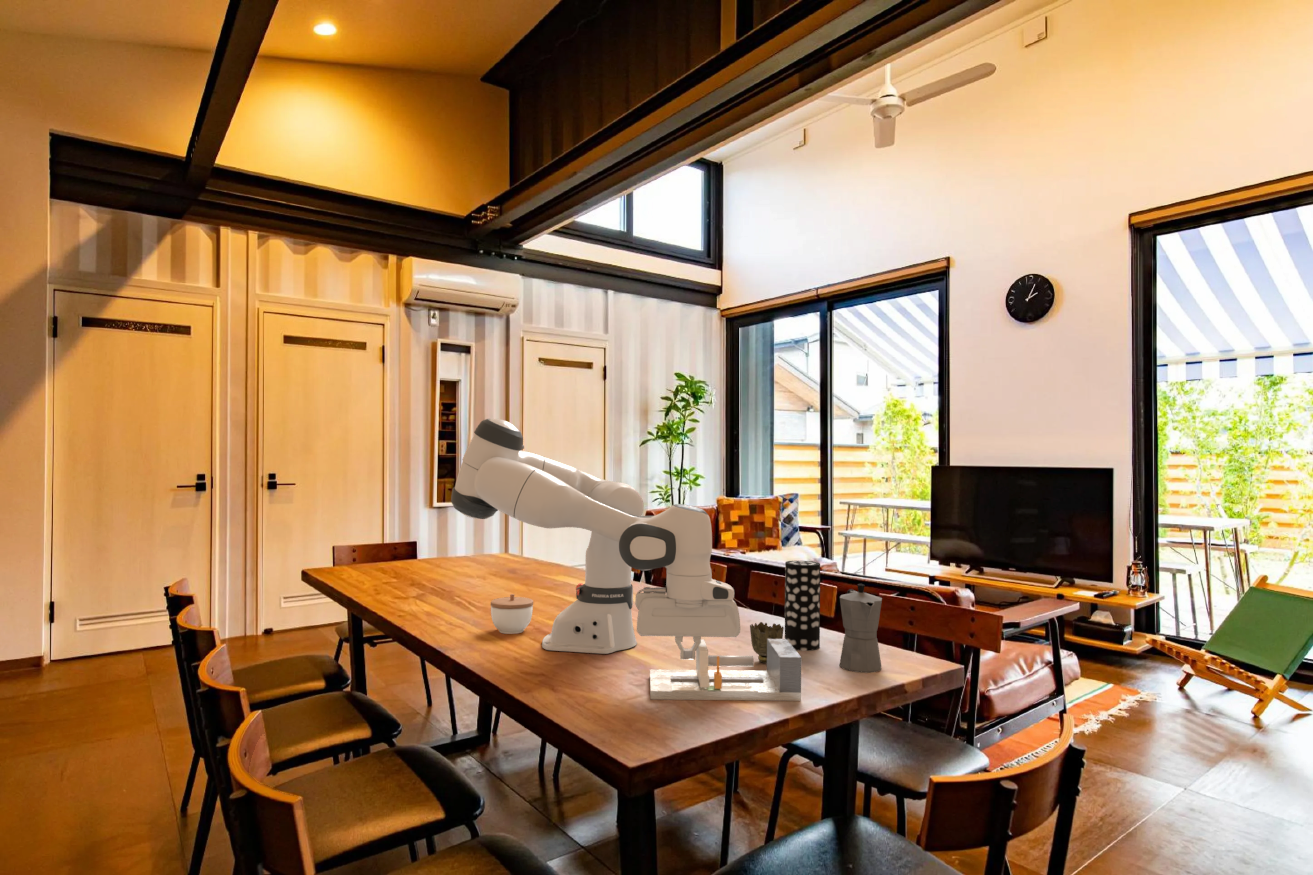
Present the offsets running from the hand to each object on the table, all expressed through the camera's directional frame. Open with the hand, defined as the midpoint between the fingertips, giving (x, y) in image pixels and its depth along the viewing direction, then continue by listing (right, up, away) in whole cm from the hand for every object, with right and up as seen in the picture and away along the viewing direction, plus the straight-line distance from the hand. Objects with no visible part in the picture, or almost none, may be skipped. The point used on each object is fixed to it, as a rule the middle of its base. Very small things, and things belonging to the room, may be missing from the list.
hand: (687, 658), depth 142 cm
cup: (+18, -7, +19) cm, 27 cm away
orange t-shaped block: (+5, -3, -6) cm, 9 cm away
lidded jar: (-43, -7, +44) cm, 62 cm away
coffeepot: (+38, -7, +18) cm, 43 cm away
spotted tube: (+29, -7, +33) cm, 45 cm away
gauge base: (+7, -6, 0) cm, 9 cm away
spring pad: (+7, -3, -1) cm, 8 cm away
